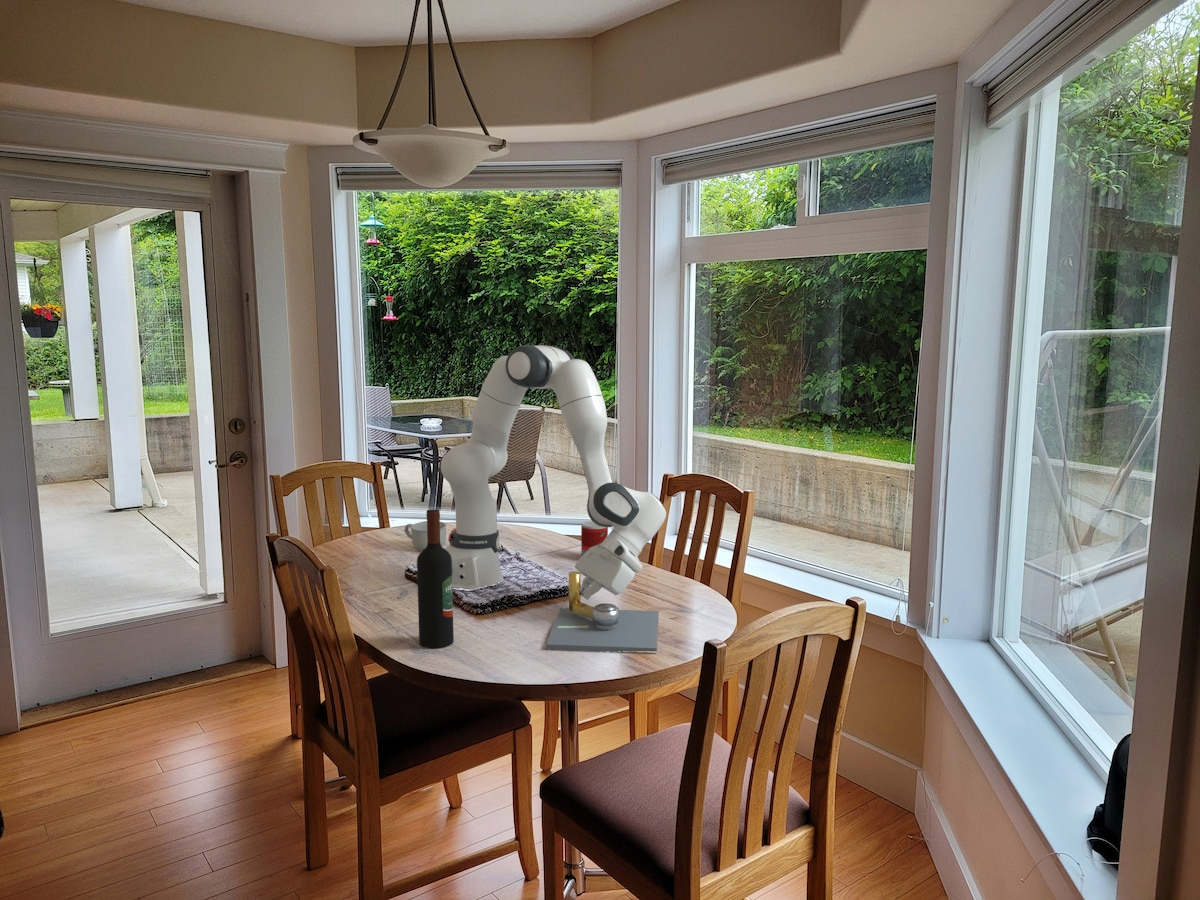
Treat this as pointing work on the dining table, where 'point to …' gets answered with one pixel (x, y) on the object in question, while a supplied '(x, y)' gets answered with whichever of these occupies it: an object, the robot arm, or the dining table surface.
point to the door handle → (599, 613)
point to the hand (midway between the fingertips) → (582, 596)
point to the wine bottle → (435, 589)
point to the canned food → (591, 535)
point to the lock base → (605, 632)
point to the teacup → (423, 534)
